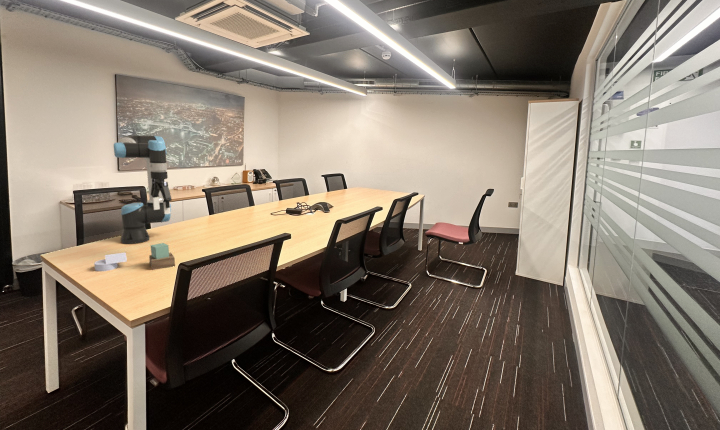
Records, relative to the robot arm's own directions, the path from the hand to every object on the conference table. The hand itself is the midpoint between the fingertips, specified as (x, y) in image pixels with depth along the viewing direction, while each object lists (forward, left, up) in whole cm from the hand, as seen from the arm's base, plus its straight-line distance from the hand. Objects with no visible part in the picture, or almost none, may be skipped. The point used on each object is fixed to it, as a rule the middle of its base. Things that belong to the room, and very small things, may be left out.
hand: (162, 211), depth 186 cm
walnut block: (+10, -6, -26) cm, 28 cm away
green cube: (+9, -6, -21) cm, 24 cm away
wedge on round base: (-4, -24, -26) cm, 36 cm away
